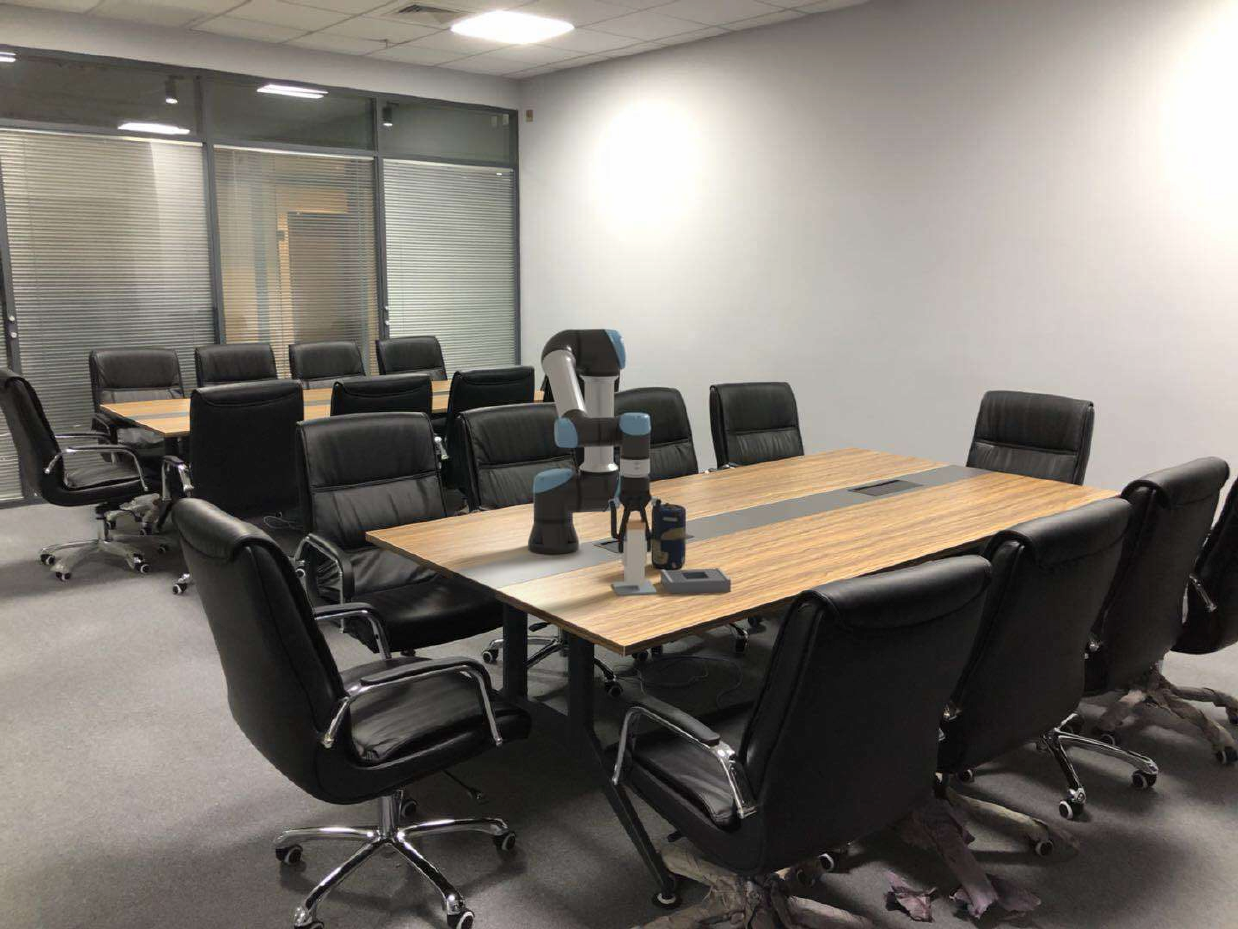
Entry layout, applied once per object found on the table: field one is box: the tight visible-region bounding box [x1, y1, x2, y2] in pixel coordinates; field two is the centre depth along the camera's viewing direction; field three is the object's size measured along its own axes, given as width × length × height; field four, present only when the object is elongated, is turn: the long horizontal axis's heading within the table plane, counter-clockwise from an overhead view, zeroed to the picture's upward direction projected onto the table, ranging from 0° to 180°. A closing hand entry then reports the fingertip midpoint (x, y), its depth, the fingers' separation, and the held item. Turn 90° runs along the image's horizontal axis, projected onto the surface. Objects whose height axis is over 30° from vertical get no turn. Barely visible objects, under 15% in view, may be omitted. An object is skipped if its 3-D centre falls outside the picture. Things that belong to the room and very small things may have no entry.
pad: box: [611, 579, 658, 596], centre depth 249 cm, size 10×10×1 cm
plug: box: [623, 518, 646, 585], centre depth 247 cm, size 5×5×16 cm
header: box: [660, 566, 732, 595], centre depth 251 cm, size 16×11×3 cm
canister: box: [650, 502, 687, 570], centre depth 269 cm, size 10×10×18 cm
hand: (634, 564), depth 248 cm, fingers closed on plug, 4 cm apart
